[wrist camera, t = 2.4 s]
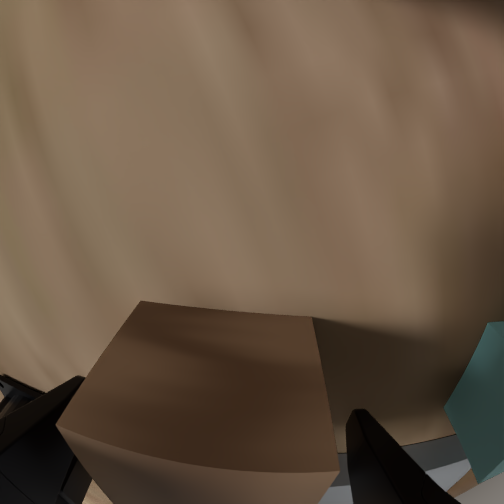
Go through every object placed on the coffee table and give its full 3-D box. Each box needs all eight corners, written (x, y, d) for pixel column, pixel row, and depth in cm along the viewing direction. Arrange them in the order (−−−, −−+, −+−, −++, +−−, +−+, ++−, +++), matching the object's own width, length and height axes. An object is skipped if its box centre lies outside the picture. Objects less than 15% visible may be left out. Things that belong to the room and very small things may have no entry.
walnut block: (159, 407, 11) (122, 513, 6) (141, 299, 9) (55, 424, 4) (287, 421, 11) (290, 537, 6) (310, 315, 9) (340, 471, 4)
